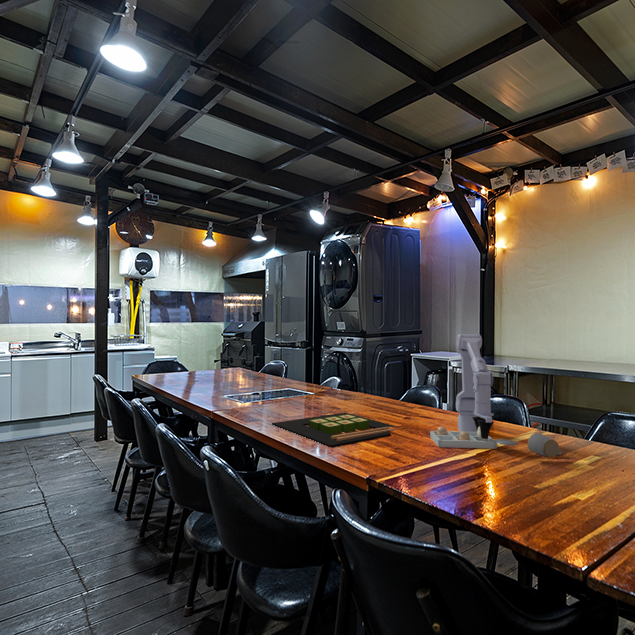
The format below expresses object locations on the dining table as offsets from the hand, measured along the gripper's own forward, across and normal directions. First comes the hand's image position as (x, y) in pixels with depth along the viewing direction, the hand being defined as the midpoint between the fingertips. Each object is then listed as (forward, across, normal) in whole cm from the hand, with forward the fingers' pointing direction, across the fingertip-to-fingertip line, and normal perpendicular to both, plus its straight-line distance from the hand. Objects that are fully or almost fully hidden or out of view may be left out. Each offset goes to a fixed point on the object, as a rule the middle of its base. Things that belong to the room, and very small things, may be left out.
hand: (482, 437), depth 166 cm
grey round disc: (+4, +6, -11) cm, 13 cm away
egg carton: (+4, +4, +7) cm, 9 cm away
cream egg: (+1, 0, 0) cm, 1 cm away
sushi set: (+5, +26, +56) cm, 62 cm away
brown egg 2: (+3, 0, +7) cm, 8 cm away
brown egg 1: (+3, +7, +14) cm, 16 cm away
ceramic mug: (+4, -8, -20) cm, 22 cm away
